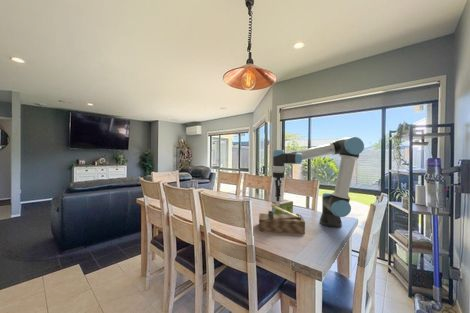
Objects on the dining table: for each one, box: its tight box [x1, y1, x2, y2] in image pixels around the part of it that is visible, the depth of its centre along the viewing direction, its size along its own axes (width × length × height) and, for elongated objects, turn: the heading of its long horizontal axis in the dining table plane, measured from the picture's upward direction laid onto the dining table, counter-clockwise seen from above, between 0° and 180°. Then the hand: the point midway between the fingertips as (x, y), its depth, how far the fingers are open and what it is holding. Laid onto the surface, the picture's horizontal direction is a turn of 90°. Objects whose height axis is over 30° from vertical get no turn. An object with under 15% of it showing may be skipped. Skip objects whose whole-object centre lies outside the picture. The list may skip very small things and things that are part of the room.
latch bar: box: [271, 202, 300, 218], centre depth 145 cm, size 21×4×2 cm, turn 83°
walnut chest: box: [258, 210, 306, 234], centre depth 146 cm, size 30×14×11 cm, turn 83°
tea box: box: [271, 198, 294, 215], centre depth 165 cm, size 15×10×15 cm
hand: (277, 205), depth 146 cm, fingers closed
